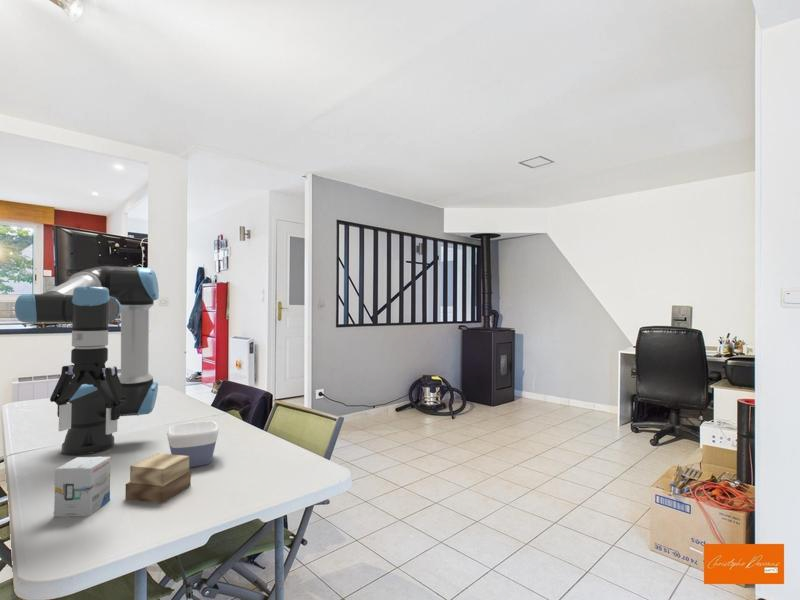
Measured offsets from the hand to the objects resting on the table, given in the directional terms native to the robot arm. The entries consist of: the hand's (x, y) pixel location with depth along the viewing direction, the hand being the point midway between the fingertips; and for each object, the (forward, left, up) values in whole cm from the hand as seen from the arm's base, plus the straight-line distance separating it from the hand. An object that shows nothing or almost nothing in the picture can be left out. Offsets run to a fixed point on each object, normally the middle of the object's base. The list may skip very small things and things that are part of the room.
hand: (87, 431), depth 107 cm
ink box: (0, -1, -19) cm, 19 cm away
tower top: (+12, +11, -15) cm, 22 cm away
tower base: (+12, +11, -20) cm, 25 cm away
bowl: (+6, +33, -19) cm, 39 cm away
